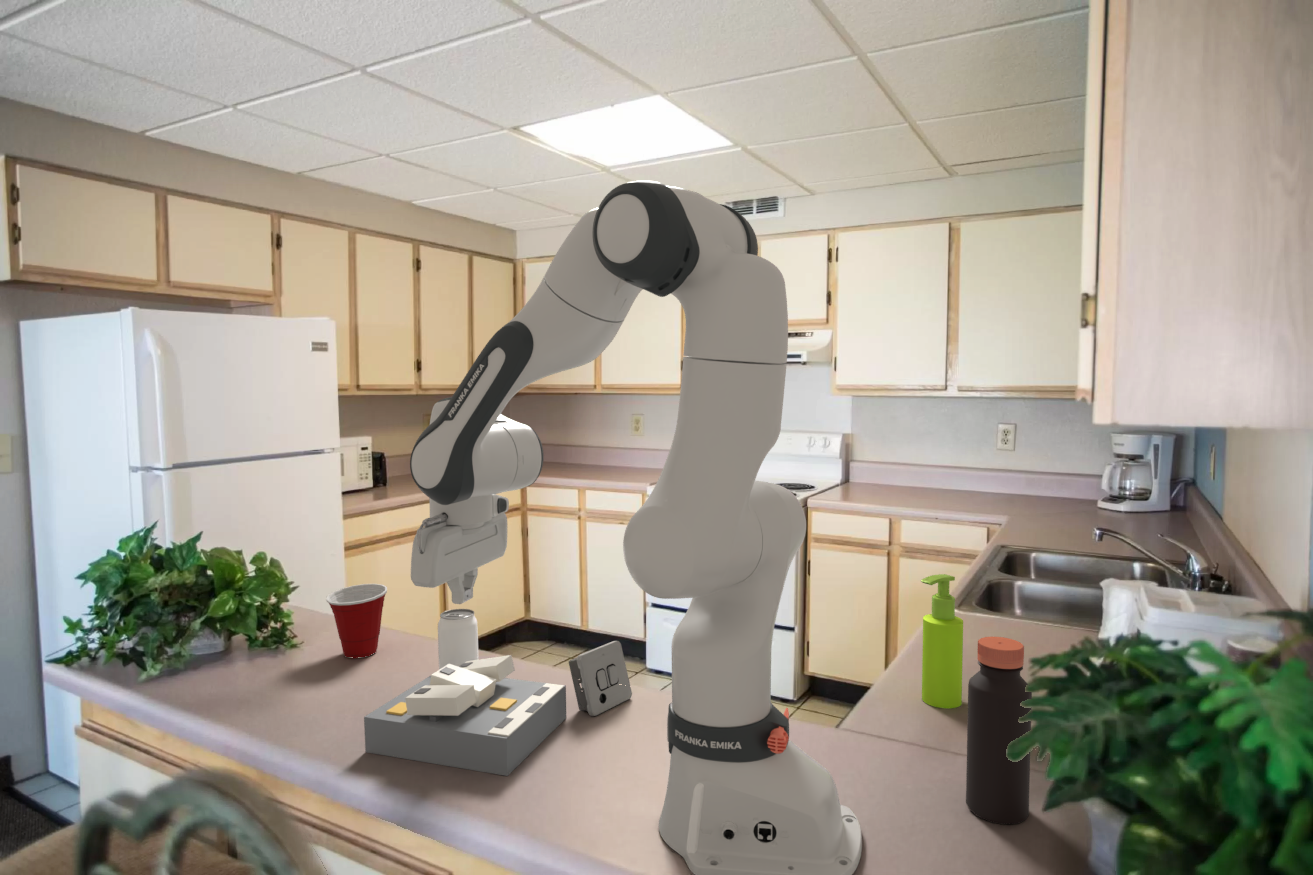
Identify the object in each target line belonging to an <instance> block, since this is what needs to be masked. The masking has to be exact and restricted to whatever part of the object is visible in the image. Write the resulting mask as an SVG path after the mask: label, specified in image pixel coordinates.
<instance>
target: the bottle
mask: <svg viewBox="0 0 1313 875" xmlns="http://www.w3.org/2000/svg"><path fill="white" fill-rule="evenodd" d="M1024 658H1025V645H1024V644H1023V643H1022V642H1019V641H1018V640H1016V639H1013V638H1008V637H1005V636H1004V637H1001V636H985V637H981V638H978V640H977V664H978V666H980V667H979V668H980V670H979V671H977V672H976V673H975V674H974V675H972V676H971V677H970V678H969V679H968V683H967V684H968V685H967V686H968V687H967V688H968V689H967V723H966V724H967V727H966V728H967V729H966V730H967V732H966V733H967V734H966V735H967V736H966V737H967V740H966V776H965V777H966V781H965V783H966V784H965V786H966V788H965V803H966V806H967V807H968V809H969V810H970V811H971V812H972V813H973V814H974V815H975V816H977V817H979V818H981V819H983V820H985V821H988V822H990V823H995V824H999V825H1017V824H1020V823H1022V822H1024V821H1026V819H1027V818H1028V817H1029V815H1030V814H1029V812H1030V811H1029V810H1030V809H1029V808H1030V777H1031V776H1030V775H1031V774H1030V773H1031V751H1030V752H1029V754H1027V755H1026V756H1025V757H1024V758H1023V759H1022V760H1020V761H1018V762H1012V761H1010V760H1008V758H1007V757H1006V749H1007V746H1008V744H1009V743H1010V742H1011V741H1013V740H1015V739H1016V738H1019V737H1020V736H1022V735H1023V734H1025V733H1026V732H1028V731H1030V730H1031V731H1032V720H1031V721H1028V722H1024V723H1019V722H1018V719H1019V717H1022V716H1024V715H1025V714H1027V713H1028V712H1029V711H1030V710H1031V711H1032V707H1031V708H1024V707H1022V706H1020V703H1021V702H1022V701H1025V700H1027V699H1032V700H1033V692H1025V687H1026V685H1029V684H1028V683H1027V681H1026V680H1025V679H1024V678H1023V677H1022V676H1021V672H1022V671H1023V670H1024V664H1025V663H1024Z"/></svg>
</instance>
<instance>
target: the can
mask: <svg viewBox="0 0 1313 875" xmlns="http://www.w3.org/2000/svg"><path fill="white" fill-rule="evenodd" d="M439 617H440V618H439V619H438V620H439V621H438V623H437V647H438V648H437V650H438V670H440V669H441V668H443V667H444V666H446V665H448V664H452V665H455V666H458V667H459V666H460V665H462V664H463V663H465V662H466V661H472V660H479V633H478V632H479V629H478V619H477V617H476V616H475V611H474V610H473V609H469V608H454V609H448V610H444V611H443V612H441V613H440V614H439Z"/></svg>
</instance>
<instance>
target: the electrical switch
mask: <svg viewBox="0 0 1313 875" xmlns="http://www.w3.org/2000/svg"><path fill="white" fill-rule="evenodd" d="M568 666H569V670H570V675H571V680H572V683H573V689H574V693H575V697H576V698H575V699H576V702H577V706H578V710H579V711H586V712H588V714H589V716H590V717H594V716H595V717H596V716H598V715H600V714H602V713H604V712H605V711H608V710H609V709H611V708H614V707H615V706H618V705H619V704H622V703H624V702H626V701H628V700H630V699H631V698H632V695H633V692H632V688H631V687H630V686H631V683H630V678H629V674H628V670H627V669H628V668H627V665H626V661H625V656H624V652H623V647H622V643H621V642H620V641H619V640H613V641H611V642H608V643H605V644H603V645H601V646H598V647H595V648H593V649H590V650H587V651H586V652H583V653H581V654H579V655H577V656H576V657H575V658H572V659H570V660H568ZM619 684H622V685H619ZM625 685H626V686H625Z"/></svg>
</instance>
